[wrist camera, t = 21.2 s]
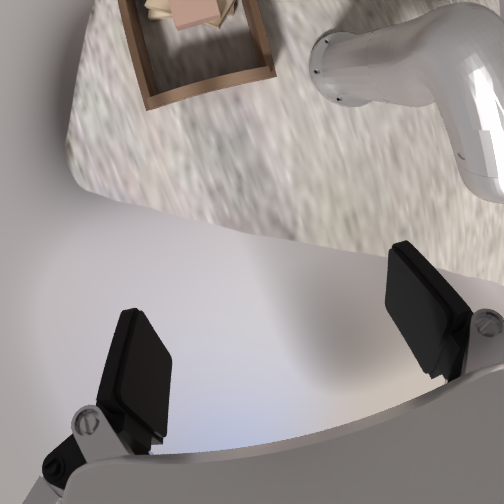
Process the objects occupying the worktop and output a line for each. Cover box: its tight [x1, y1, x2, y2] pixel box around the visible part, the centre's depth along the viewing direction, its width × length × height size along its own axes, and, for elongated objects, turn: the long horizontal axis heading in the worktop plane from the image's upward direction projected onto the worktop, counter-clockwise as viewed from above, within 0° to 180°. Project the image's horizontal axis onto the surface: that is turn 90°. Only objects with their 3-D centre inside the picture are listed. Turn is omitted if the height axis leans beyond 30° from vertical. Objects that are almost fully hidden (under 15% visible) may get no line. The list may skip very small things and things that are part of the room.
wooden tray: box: [118, 0, 277, 111], centre depth 28 cm, size 17×22×8 cm
